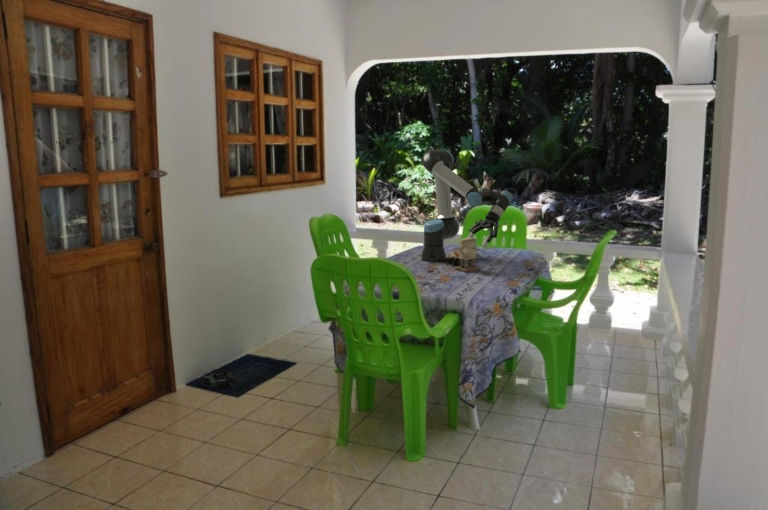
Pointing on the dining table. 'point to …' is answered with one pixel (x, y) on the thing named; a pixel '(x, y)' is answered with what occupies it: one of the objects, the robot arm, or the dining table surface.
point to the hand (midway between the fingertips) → (474, 244)
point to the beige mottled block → (467, 248)
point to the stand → (467, 266)
